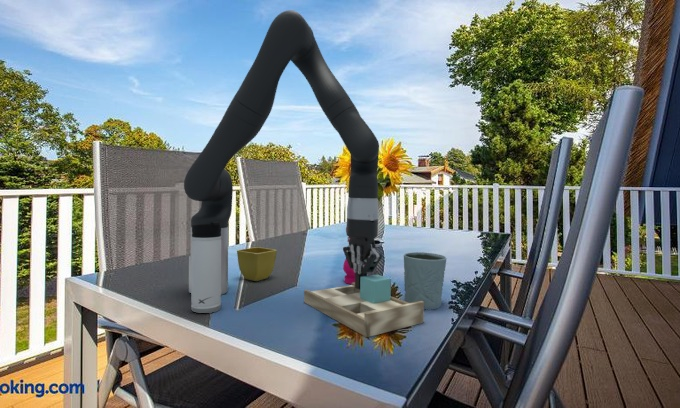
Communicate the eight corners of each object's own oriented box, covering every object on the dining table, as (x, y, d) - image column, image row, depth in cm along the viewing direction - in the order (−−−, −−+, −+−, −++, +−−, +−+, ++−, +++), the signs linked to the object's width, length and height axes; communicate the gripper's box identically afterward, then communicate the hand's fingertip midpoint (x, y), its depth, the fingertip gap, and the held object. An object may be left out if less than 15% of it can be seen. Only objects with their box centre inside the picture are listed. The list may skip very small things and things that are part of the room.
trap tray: (366, 337, 68) (367, 314, 68) (304, 302, 89) (304, 284, 89) (423, 322, 76) (423, 301, 76) (354, 293, 97) (354, 277, 97)
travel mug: (204, 316, 78) (205, 223, 77) (185, 310, 81) (185, 221, 81) (227, 308, 83) (228, 221, 82) (208, 303, 87) (209, 219, 86)
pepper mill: (365, 285, 105) (366, 217, 105) (340, 284, 107) (341, 216, 106) (368, 280, 112) (369, 215, 112) (345, 278, 114) (346, 214, 113)
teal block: (373, 303, 81) (374, 281, 81) (359, 298, 85) (360, 276, 85) (390, 300, 84) (391, 278, 83) (376, 295, 88) (376, 274, 88)
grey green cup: (400, 297, 94) (401, 251, 94) (439, 298, 94) (440, 252, 94) (406, 310, 84) (407, 258, 84) (450, 311, 84) (451, 259, 83)
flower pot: (277, 278, 113) (277, 249, 112) (256, 284, 105) (257, 253, 105) (256, 274, 118) (257, 246, 117) (235, 279, 110) (236, 250, 110)
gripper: (334, 215, 91) (332, 284, 91) (367, 219, 80) (365, 297, 81) (358, 214, 95) (356, 280, 96) (392, 218, 84) (390, 293, 85)
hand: (360, 288), depth 88 cm, fingers closed
